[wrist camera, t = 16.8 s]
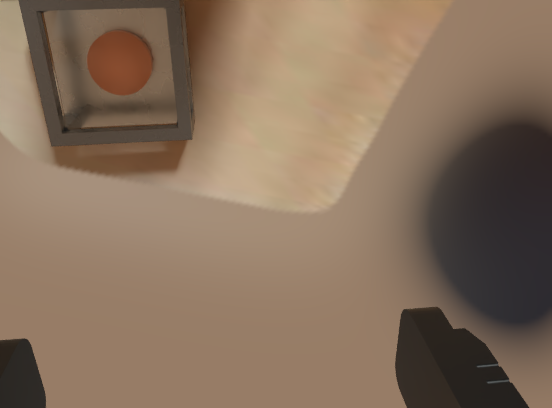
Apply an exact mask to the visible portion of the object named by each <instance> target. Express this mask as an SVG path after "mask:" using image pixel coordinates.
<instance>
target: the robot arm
mask: <svg viewBox="0 0 552 408" xmlns="http://www.w3.org/2000/svg"><path fill="white" fill-rule="evenodd" d="M395 368H396V377H397V382H398V386H399V389H400V392H401V394H402V396H403V399H404V401H405V404H406V406H407V408H529V407H528V405H527V404H526V402H525V401H524V399H523V398H522V397H521V395H520V394H519V392H518V391H517V389H516V388H515V387H514V385H513V384H512V383H510V382H509V378H508V376H507V375H506V373H505V372H504V370H503V369H502V368H501V367H499V366H498V362H497V360H496V359H495V357H494V356H493V355H492V353H491V352H490V350H489V349H488V347H487V346H486V344H485V343H483V342H482V341H481V340H479V339H478V338H477V337H475V336H474V335H473V334H472V333H470V332H469V331H468V330H466V329H464V328H462V329H453V328H452V326H451V325H450V323H449V322H448V320H447V318H446V317H445V315H444V314H443V312H442V311H441V309H440V308H438V307H429V308H415V309H404V310H403V312H402V314H401V319H400V327H399V335H398V344H397V352H396V362H395ZM0 408H46V396H45V391H44V387H43V384H42V380H41V377H40V374H39V370H38V367H37V364H36V360H35V357H34V354H33V350H32V347H31V344H30V342H29V341H28V340H27V339H13V340H0Z"/></svg>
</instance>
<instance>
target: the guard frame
mask: <svg viewBox="0 0 552 408" xmlns="http://www.w3.org/2000/svg"><path fill="white" fill-rule="evenodd" d="M19 4H20V9H21V13H22V18H23V22H24V26H25V31H26V35H27V40H28V44H29V49H30V53H31V57H32V62H33V66H34V71H35V75H36V80H37V84H38V88H39V93H40V97H41V102H42V106H43V111H44V115H45V119H46V124H47V128H48V133H49V137H50V142H51V146H70V145H90V144H111V143H131V142H152V141H172V140H192V137H193V130H194V122H195V118H194V107H193V95H192V84H191V73H190V62H189V51H188V40H187V29H186V18H185V7H184V0H19ZM41 13H44V18H45V23H46V28H47V33H48V37H49V42H50V47H51V52H52V57H53V62H54V66H55V71H56V76H57V81H58V86H59V90H60V95H61V100H62V105H63V110H64V116H62V111H61V106H60V101H59V96H58V92H57V87H56V82H55V77H54V73H53V68H52V63H51V58H50V53H49V49H48V44H47V39H46V34H45V30H44V25H43V20H42V15H41ZM113 30H124V31H128V32H131V33H133V34H135V35H136V36H138V37H139V38H141V39H142V40H143V41H144V42H145V44H146V45H147V47H148V48H149V50H150V52H151V55H152V60H153V68H152V73H151V75H150V77H149V79H148V81H147V83H146V84H145V86H144V87H143V88H142V89H140V90H139V91H137V92H136V93H133V94H130V95H115V94H111V93H109V92H107V91H105V90H103V89H102V88H101V87H99V86H98V85H97V84H96V82H95V81H94V80H93V78H92V77H91V75H90V73H89V70H88V66H87V55H88V51H89V49H90V47H91V45H92V43H93V42H94V41H95V40H96V39H97V38H99V37H100V36H101V35H103V34H105V33H107V32H109V31H113ZM168 123H177V125H156V126H135V127H113V128H91V129H81V128H82V127H103V126H125V125H147V124H168Z"/></svg>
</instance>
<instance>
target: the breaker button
mask: <svg viewBox="0 0 552 408" xmlns="http://www.w3.org/2000/svg"><path fill="white" fill-rule="evenodd" d="M87 66H88V70H89V73H90V75H91V77H92V78H93V80H94V81H95V82H96V84H97V85H98V86H99V87H101V88H102V89H103V90H105V91H107V92H109V93H111V94H115V95H130V94H133V93H136V92H137V91H139V90H140V89H142V88H143V87H144V86H145V84H146V83H147V81H148V79H149V77H150V75H151V73H152V68H153V60H152V55H151V52H150V50H149V48H148V47H147V45H146V44H145V42H144V41H143V40H142V39H141V38H139V37H138V36H136V35H135V34H133V33H131V32H128V31H124V30H113V31H109V32H107V33H105V34H103V35H101V36H100V37H99V38H97V39H96V40H95V41H94V42H93V43H92V45H91V47H90V49H89V51H88V55H87Z"/></svg>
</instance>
